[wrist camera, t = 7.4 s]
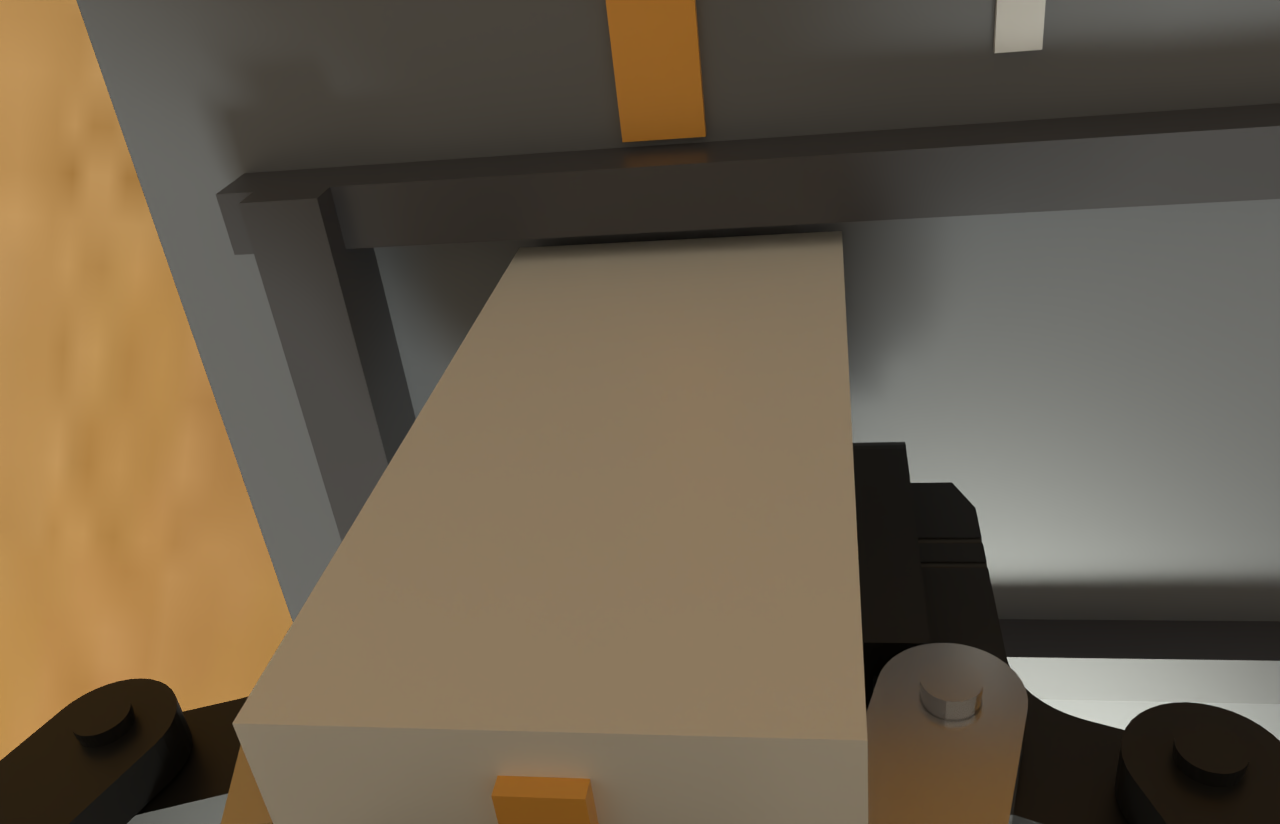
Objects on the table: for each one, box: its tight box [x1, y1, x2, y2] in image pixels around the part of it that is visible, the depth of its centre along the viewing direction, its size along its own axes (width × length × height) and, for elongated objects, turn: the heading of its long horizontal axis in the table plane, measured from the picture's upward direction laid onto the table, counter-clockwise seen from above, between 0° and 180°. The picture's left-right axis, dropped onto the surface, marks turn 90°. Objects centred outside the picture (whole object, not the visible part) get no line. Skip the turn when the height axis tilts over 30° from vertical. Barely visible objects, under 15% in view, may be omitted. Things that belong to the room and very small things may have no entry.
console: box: [77, 0, 1280, 741], centre depth 15 cm, size 22×16×3 cm
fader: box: [232, 231, 868, 824], centre depth 12 cm, size 4×6×8 cm, turn 7°
